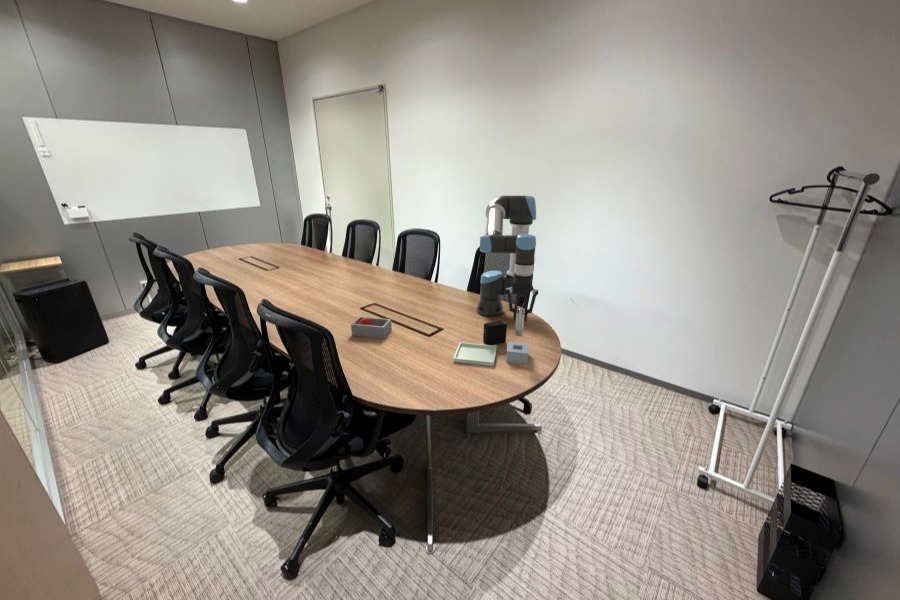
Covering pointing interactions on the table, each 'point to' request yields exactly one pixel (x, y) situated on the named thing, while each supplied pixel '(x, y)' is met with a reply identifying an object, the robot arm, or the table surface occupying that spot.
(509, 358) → the square hole cube
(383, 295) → the table surface
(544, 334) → the table surface
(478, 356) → the tray
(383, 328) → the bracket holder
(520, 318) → the cylinder
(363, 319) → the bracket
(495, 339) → the electronic device
